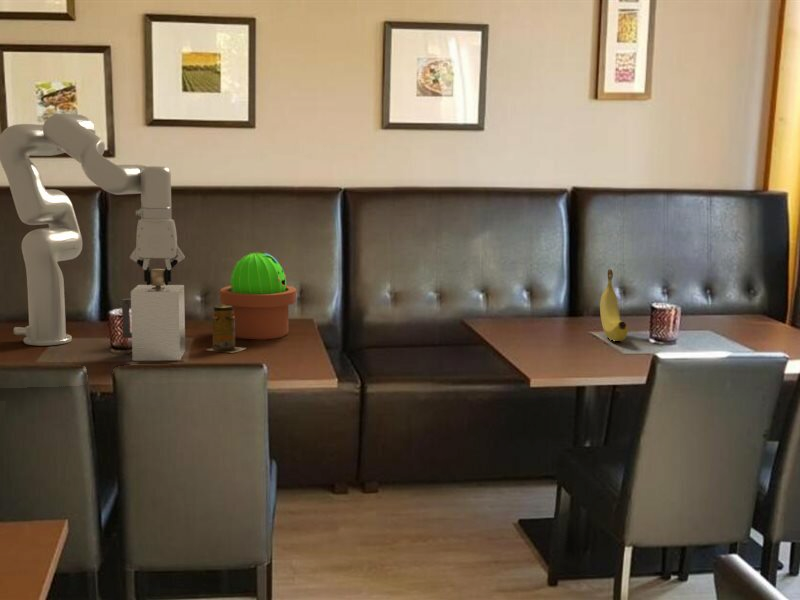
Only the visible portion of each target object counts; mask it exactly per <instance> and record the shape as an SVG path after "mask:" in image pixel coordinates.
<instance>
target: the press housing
mask: <svg viewBox="0 0 800 600" xmlns="http://www.w3.org/2000/svg"><path fill="white" fill-rule="evenodd" d="M130 308H131V309H130ZM130 311H131V312H130ZM121 314H122V322H121V323H122V338H126V339H131V347H132V349H131V351H132V352H131V356H132V358H131V359H132V361H133V362H134V361H135V362H137V361H139V362H141V361H144V362H145V361H147V362H149V361H181V359H182V357H183V356H184V353H186V329H185V328H186V327H185V326H186V325H185V324H186V323H185V322H186V320H185V319H186V317H185V285H184V284H169V285H163V286H161V289H155V286H152V285H151V284H150V285H147V284H138V285H136V286H135V287H134V288H133V289H132V290H131V291H130V298H122V299H121ZM130 314H131V316H130ZM130 318H131V320H130ZM130 323H131V324H130Z"/></svg>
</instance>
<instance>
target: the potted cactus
mask: <svg viewBox="0 0 800 600" xmlns="http://www.w3.org/2000/svg"><path fill="white" fill-rule="evenodd" d="M228 278H230V285H227V286H224V287H222V288H221V289H220V290H219V291H220V292H219V294H220V295H219V296H220V300H219V301H220V303H221V305H229V306H233V312H234V317H235V339H243V340H252V341H253V340H257V341H258V340H274V339H280V338H283V337H285V336H287V335H288V333H289V306H291V305H293V304H295V303H297V288H296V287H294V286H290V285H287V276H286V274H285V271H284V269H283V266H281V263H280V262H279V261H278V259H276V258H275V257H274V256H273V255H271V254H269V253H267V252H264V253H263V252H262V253H261V252H252V253H249V254H246V253H245V255H244V256H243V257H242V258H241V259H240V260H239V261H237V260H236V263H235V264H234V265H233V269H232V271H231V276H229V277H228Z"/></svg>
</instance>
